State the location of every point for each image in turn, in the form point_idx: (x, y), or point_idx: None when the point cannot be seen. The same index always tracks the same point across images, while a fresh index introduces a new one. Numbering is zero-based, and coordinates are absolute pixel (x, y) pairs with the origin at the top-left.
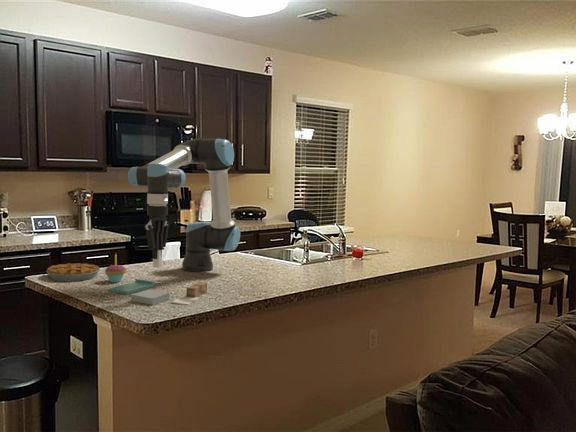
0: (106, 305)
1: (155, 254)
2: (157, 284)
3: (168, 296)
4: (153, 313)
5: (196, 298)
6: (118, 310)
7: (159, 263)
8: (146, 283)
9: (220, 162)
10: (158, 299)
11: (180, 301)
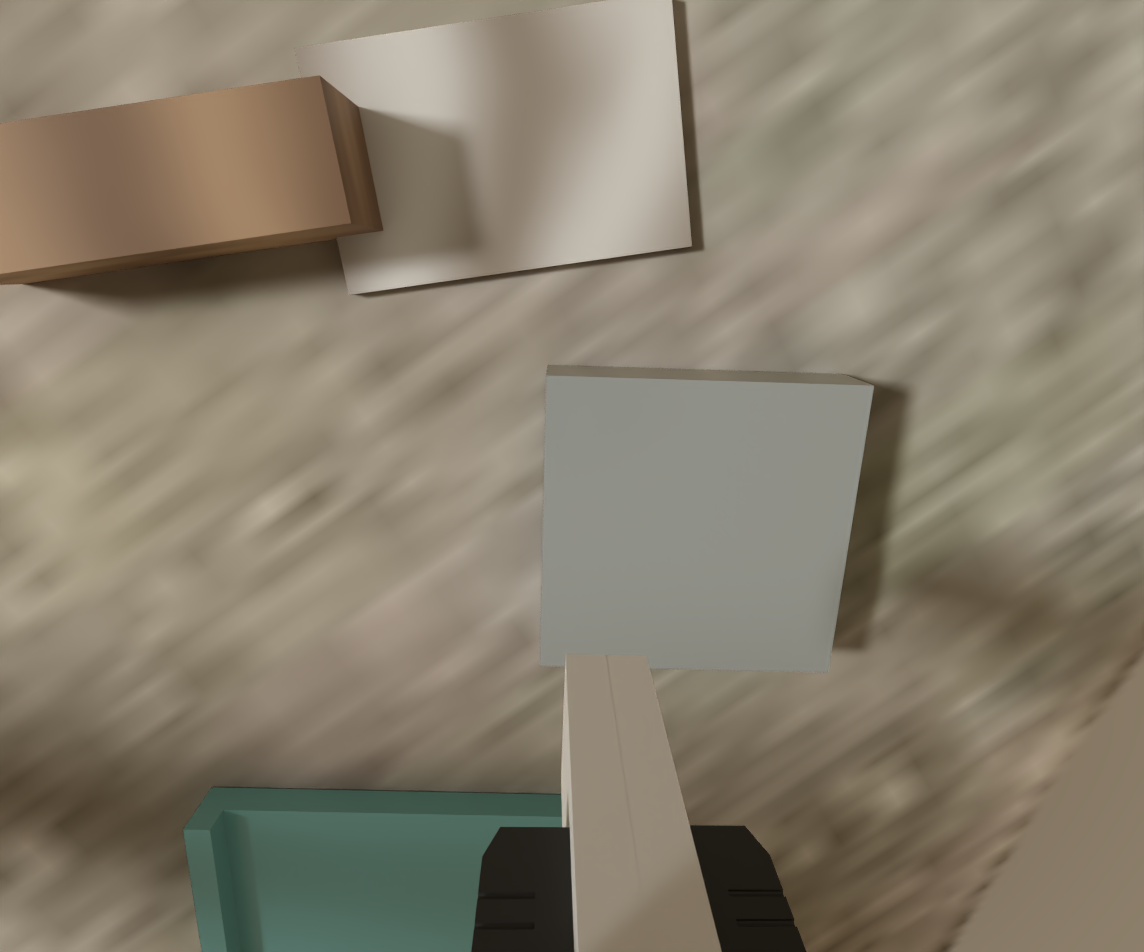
0: (1018, 713)
1: (803, 945)
2: (112, 814)
3: (566, 370)
4: (1136, 164)
5: (381, 59)
6: (1137, 531)
7: (631, 704)
8: (236, 870)
9: None
10: (757, 376)
11: (614, 159)
